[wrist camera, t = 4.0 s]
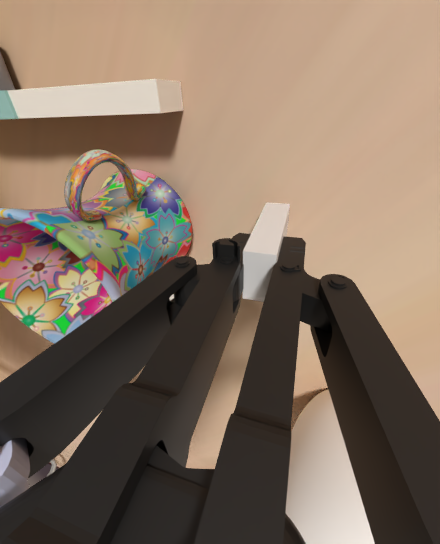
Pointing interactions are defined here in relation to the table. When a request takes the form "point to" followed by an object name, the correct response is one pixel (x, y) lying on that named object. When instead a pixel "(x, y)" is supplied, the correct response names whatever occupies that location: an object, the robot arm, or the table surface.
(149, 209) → the mug
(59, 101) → the teal-striped rail frame
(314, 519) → the vase
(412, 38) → the table surface
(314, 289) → the robot arm
